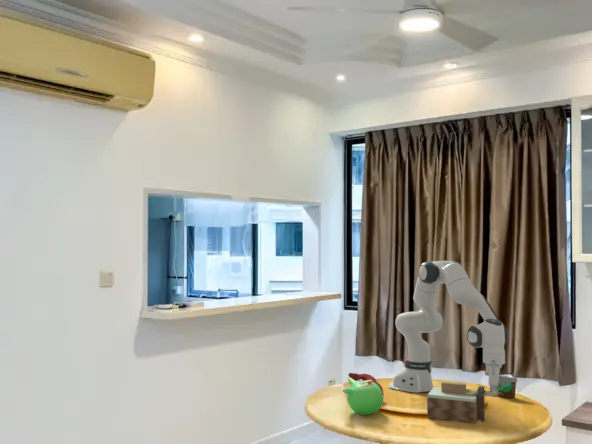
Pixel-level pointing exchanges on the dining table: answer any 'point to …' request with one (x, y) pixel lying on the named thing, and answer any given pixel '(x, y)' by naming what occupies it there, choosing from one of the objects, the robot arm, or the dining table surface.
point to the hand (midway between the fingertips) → (494, 392)
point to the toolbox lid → (452, 392)
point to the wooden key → (485, 393)
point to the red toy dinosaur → (364, 378)
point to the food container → (506, 387)
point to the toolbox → (457, 409)
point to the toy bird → (364, 396)
